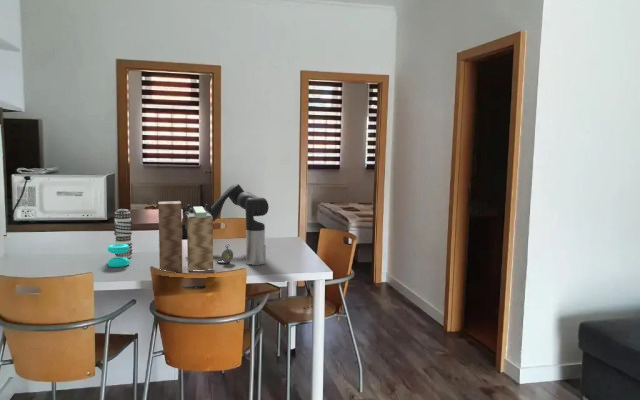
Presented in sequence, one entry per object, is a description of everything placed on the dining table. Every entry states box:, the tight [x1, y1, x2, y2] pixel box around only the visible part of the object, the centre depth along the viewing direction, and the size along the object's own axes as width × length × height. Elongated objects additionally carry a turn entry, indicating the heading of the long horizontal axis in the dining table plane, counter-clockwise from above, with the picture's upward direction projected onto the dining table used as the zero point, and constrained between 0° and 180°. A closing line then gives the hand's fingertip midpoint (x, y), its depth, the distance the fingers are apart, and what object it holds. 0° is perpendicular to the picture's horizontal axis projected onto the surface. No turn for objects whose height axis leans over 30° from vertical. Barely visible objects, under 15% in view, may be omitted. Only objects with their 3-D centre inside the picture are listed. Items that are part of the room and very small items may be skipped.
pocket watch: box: [216, 243, 234, 264], centre depth 250 cm, size 8×8×10 cm
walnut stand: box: [158, 200, 183, 273], centre depth 234 cm, size 10×10×32 cm
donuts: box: [106, 243, 131, 268], centre depth 242 cm, size 10×10×10 cm
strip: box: [192, 206, 206, 218], centre depth 238 cm, size 4×24×2 cm, turn 18°
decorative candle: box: [113, 208, 133, 259], centre depth 261 cm, size 9×9×25 cm
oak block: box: [186, 213, 214, 272], centre depth 238 cm, size 11×12×26 cm
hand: (197, 206), depth 246 cm, fingers open, 8 cm apart
